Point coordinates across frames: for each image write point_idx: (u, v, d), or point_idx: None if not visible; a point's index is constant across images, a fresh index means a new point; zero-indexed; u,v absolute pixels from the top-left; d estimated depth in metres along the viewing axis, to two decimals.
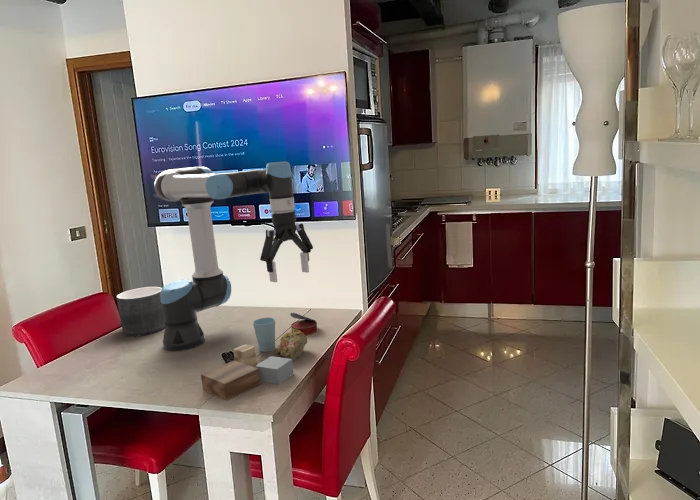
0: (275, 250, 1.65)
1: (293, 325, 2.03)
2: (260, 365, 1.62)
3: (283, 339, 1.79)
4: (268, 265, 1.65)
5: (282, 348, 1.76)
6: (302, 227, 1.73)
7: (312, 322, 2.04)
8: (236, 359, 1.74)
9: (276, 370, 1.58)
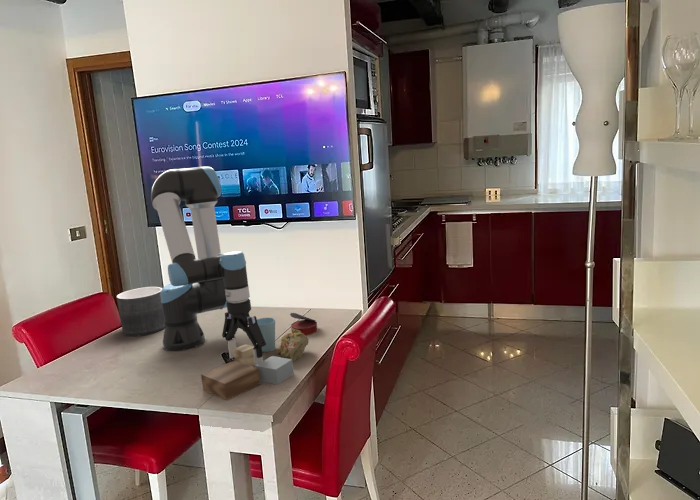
0: (229, 332, 1.76)
1: (293, 325, 2.03)
2: (260, 365, 1.62)
3: (284, 340, 1.78)
4: None
5: (282, 349, 1.75)
6: (249, 322, 1.67)
7: (312, 322, 2.04)
8: (236, 359, 1.74)
9: (275, 370, 1.58)
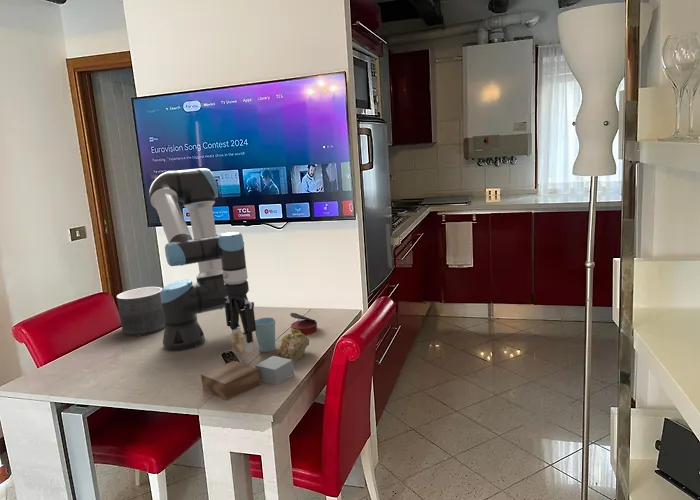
0: (231, 318, 1.74)
1: (293, 325, 2.03)
2: (260, 364, 1.62)
3: (284, 340, 1.78)
4: None
5: (282, 349, 1.75)
6: (246, 307, 1.67)
7: (312, 322, 2.04)
8: (233, 344, 1.73)
9: (274, 370, 1.58)
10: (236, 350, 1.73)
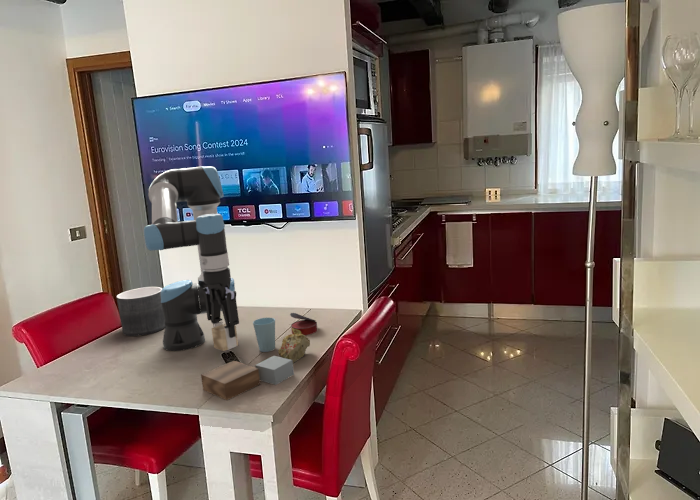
0: (212, 311, 1.56)
1: (293, 325, 2.03)
2: (260, 364, 1.62)
3: (285, 341, 1.77)
4: None
5: (282, 350, 1.74)
6: (227, 297, 1.49)
7: (312, 322, 2.04)
8: (215, 340, 1.55)
9: (273, 370, 1.58)
10: (217, 346, 1.55)
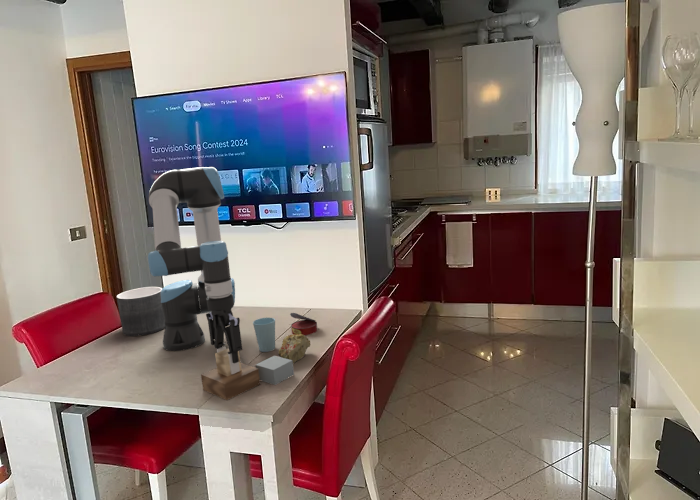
0: (215, 336, 1.57)
1: (293, 325, 2.03)
2: (260, 364, 1.62)
3: (285, 341, 1.77)
4: None
5: (282, 350, 1.74)
6: (231, 324, 1.50)
7: (312, 322, 2.04)
8: (218, 365, 1.57)
9: (272, 371, 1.58)
10: (221, 371, 1.56)
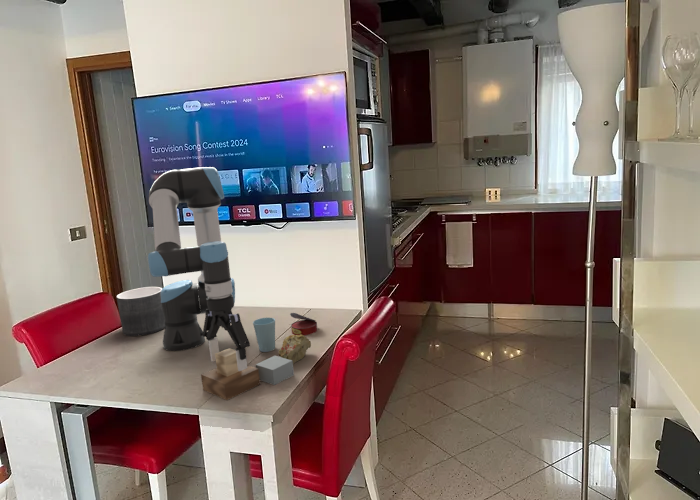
0: (210, 330, 1.59)
1: (293, 325, 2.03)
2: (260, 364, 1.62)
3: (285, 341, 1.77)
4: None
5: (282, 351, 1.74)
6: (231, 320, 1.50)
7: (312, 322, 2.04)
8: (218, 365, 1.57)
9: (272, 371, 1.58)
10: (221, 371, 1.56)
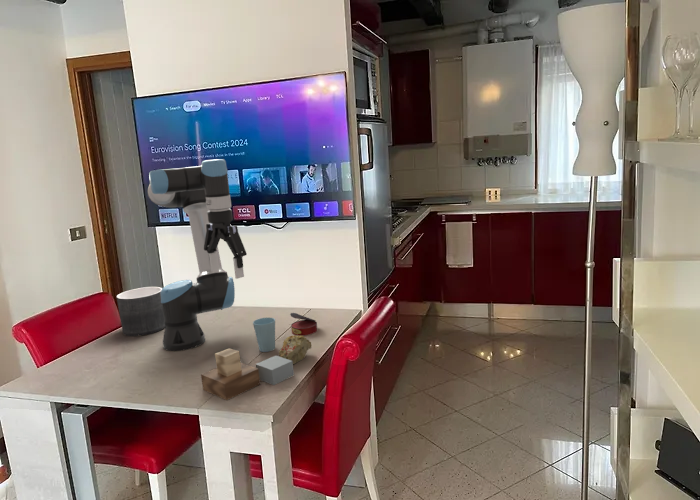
0: (210, 243, 1.73)
1: (293, 325, 2.03)
2: (260, 363, 1.63)
3: (285, 342, 1.76)
4: None
5: (282, 351, 1.73)
6: (230, 230, 1.63)
7: (312, 322, 2.04)
8: (218, 365, 1.57)
9: (271, 371, 1.58)
10: (221, 371, 1.56)
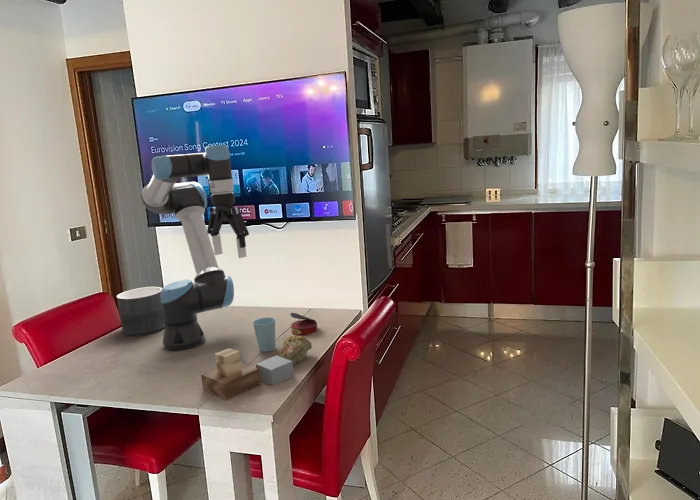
0: (213, 226, 1.81)
1: (293, 325, 2.03)
2: (260, 363, 1.63)
3: (285, 342, 1.76)
4: None
5: (282, 352, 1.73)
6: (233, 212, 1.72)
7: (312, 322, 2.04)
8: (218, 365, 1.57)
9: (270, 371, 1.58)
10: (221, 371, 1.56)
